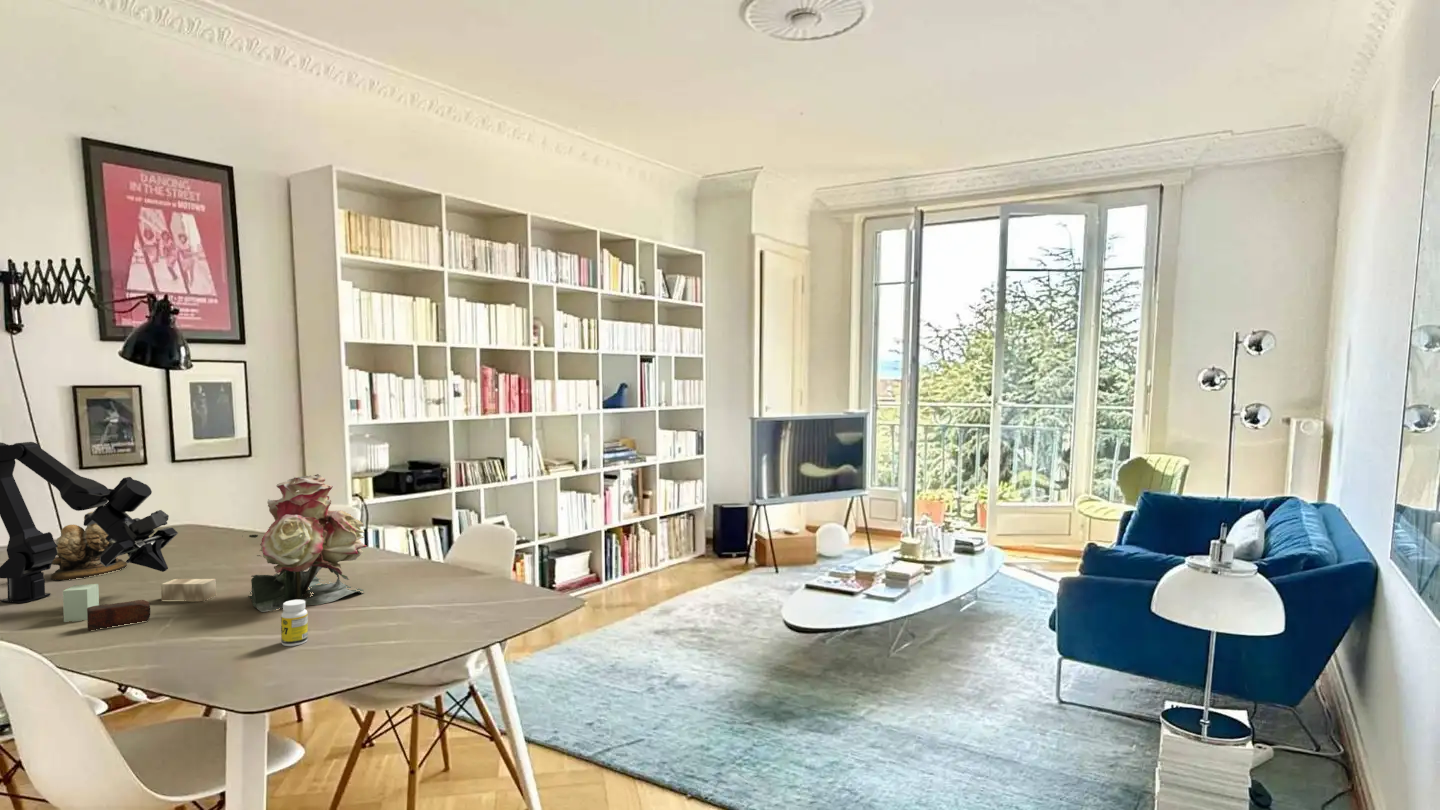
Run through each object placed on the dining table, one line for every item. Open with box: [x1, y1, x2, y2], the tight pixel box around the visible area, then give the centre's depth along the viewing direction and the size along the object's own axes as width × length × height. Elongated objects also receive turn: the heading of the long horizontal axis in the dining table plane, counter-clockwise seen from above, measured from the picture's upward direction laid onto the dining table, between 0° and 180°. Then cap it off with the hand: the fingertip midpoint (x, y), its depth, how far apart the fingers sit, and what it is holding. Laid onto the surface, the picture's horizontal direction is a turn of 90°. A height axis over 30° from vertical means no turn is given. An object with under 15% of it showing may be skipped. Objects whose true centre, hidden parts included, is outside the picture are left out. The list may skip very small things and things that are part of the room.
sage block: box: [62, 583, 100, 623], centre depth 166 cm, size 4×4×7 cm
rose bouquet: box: [241, 473, 368, 613], centre depth 185 cm, size 26×29×30 cm
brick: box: [86, 599, 151, 632], centre depth 162 cm, size 11×4×5 cm, turn 132°
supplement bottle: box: [280, 599, 309, 647], centre depth 152 cm, size 5×5×8 cm
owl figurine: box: [50, 511, 128, 581], centre depth 204 cm, size 18×12×17 cm, turn 162°
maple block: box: [160, 578, 217, 602], centre depth 181 cm, size 4×4×10 cm
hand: (165, 570), depth 180 cm, fingers closed
